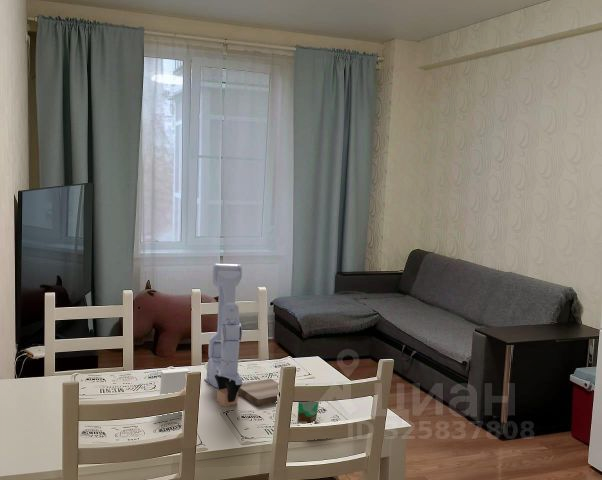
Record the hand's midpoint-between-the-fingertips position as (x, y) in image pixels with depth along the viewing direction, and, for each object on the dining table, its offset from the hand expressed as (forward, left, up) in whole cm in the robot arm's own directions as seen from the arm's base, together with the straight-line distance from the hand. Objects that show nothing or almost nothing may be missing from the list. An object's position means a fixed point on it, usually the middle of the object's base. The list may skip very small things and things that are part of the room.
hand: (227, 398), depth 204 cm
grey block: (-5, -17, -2) cm, 18 cm away
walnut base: (0, +15, -1) cm, 15 cm away
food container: (+25, +16, -2) cm, 30 cm away
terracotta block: (0, 0, -1) cm, 1 cm away
